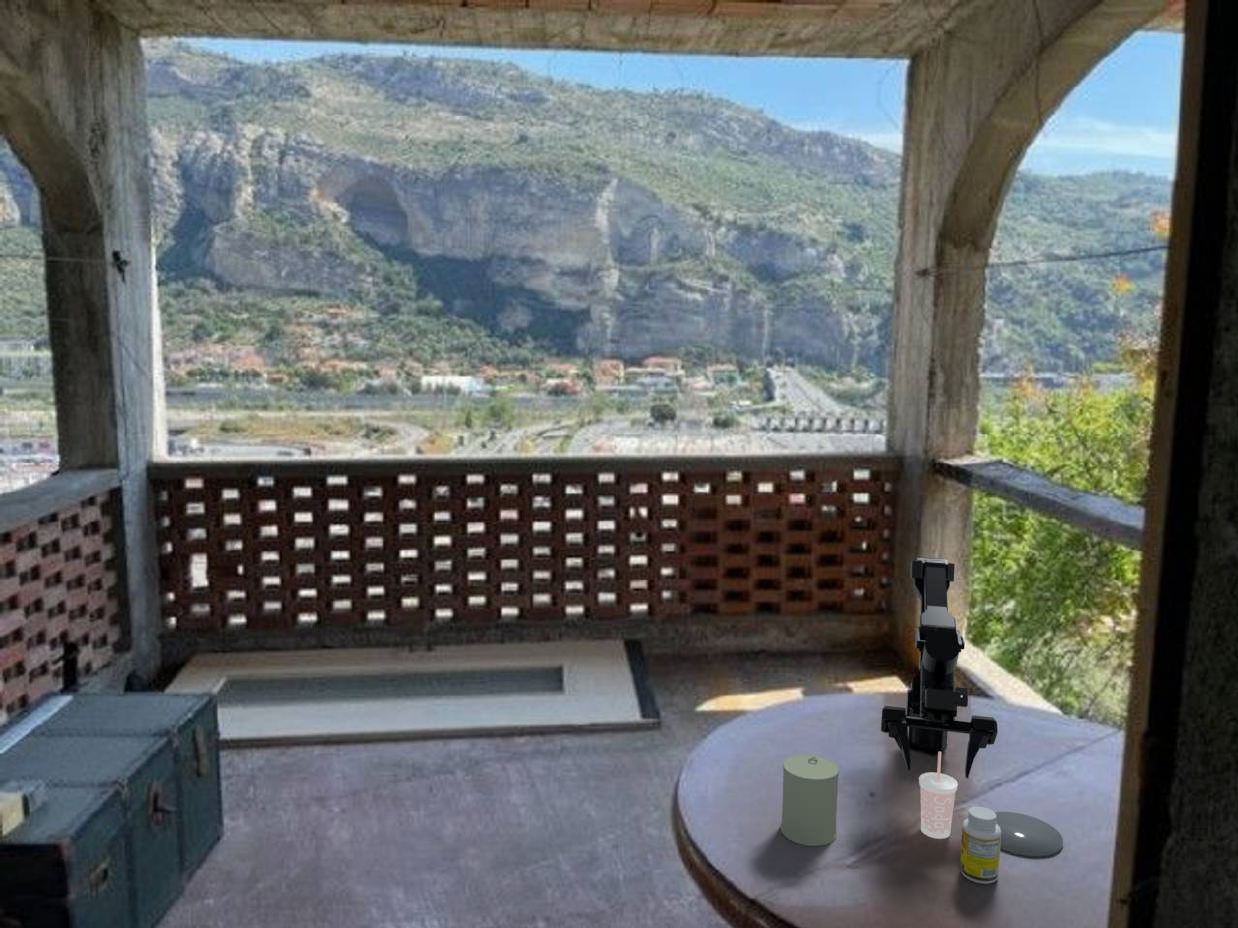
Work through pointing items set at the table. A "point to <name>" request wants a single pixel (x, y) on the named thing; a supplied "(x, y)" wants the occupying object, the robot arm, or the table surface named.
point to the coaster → (1027, 835)
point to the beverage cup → (937, 802)
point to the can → (809, 799)
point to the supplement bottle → (980, 846)
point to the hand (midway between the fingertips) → (937, 773)
